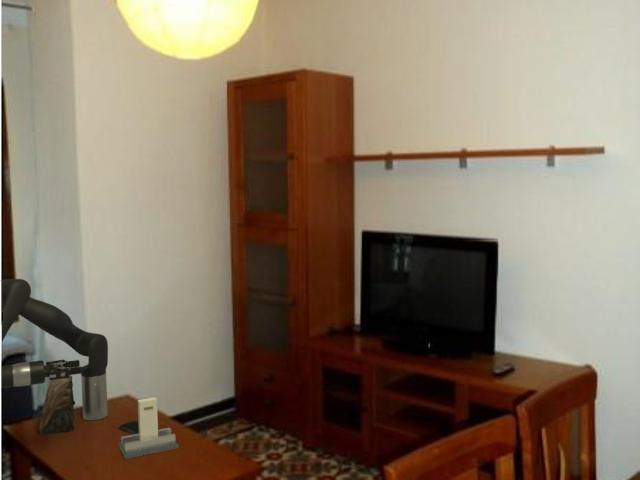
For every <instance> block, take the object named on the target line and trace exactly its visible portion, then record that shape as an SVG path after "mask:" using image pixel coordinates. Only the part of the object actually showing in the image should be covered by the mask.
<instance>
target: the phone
mask: <svg viewBox="0 0 640 480" xmlns="http://www.w3.org/2000/svg"><path fill="white" fill-rule="evenodd" d="M118 429H119V430H121V431H123V432H125V433H128V434H130V435H134V434H139V421H138V420H132V421H129V422H126V423H123V424H120V425H118Z"/></svg>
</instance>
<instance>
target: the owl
mask: <svg viewBox="0 0 640 480" xmlns="http://www.w3.org/2000/svg"><path fill="white" fill-rule="evenodd" d="M73 386H74V384H73V376H72V375H71V376H69V378H64V379H56V380H50V382H49V385H48V388H47V390H46V394H45V400H44V403H43V406H42V411H41V414H40V415H41V416H40V422H39V436H44V435H53V434H61V433H71V432H73V431H74V430H75V426H74V421H75V417H76V415H75V408H74V406H75V404H76V402H75V398H74V390H73Z"/></svg>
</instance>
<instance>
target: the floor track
mask: <svg viewBox="0 0 640 480" xmlns="http://www.w3.org/2000/svg"><path fill="white" fill-rule="evenodd" d="M179 446H180V445H179V443H177V441H176V434H175V433H172V429H171V427H165V428H161V429H158V437H154V438H149V439H144V440H139V434H134V435H132V434H130V435H125V436H121V437H120V442H119V443H118V447H119V450H120V451H121V453H122V455H123V458H124V459H125V460H130V459H133V458H134V457H135V458H139V457H143V455H144V456H148V454H149V455H152V454H153V453H154V454H157V453H162V452H167V451H172V450H177V449H179ZM138 456H139V457H138ZM135 458H134V459H135Z"/></svg>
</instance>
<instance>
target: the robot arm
mask: <svg viewBox="0 0 640 480" xmlns="http://www.w3.org/2000/svg"><path fill="white" fill-rule="evenodd" d="M1 280H2V306H1V307H2V308H1V309H2V312H3V321H2V342H4V340H5V337H6V336H7V334H8V332H9V330H10V329H11V328H12V326H13V324H14V323H15V321H16V320H17V318H18V316H20V317H22V318H24V319H25V320H27V321H28V322H29V323H32V324H33V325H35V326H36V327H37V328H39V329H41V330H42V331H44V332H45V333H47V334H48V335H51V336H53V337H54V338H55V339H58V340H60V341H61V342H64V343H65V344H67V345H68V346H69V347H70V348H71V349H73V350H74V351H75V352H76V354H78V355H81V356H83V357H87V359H88V362H87V364H86V365H83V366H80V363H81V362H80V360H79V359H75V360H69V361H68V360H66V359H60V360H52V361H46V363H45V362H44V360H43V359H41V360H33V361H26V362H18V363H15V364H9V365H2V388H1V389H8V388H14V387H27V386H33V385H39V384H44V383H45V382H46V378H49V381H51V380H56V379H64V378H69V376H72V375H73V376H74V375H80V378H81V379H80V380H81V397H82V398H81V401H82V418H83V420H87V421H97V420H101V419H104V418H106V417H107V416H108V415H109V412H108V411H109V410H108V390H107V389H108V388H107V387H108V385H107V367H108V363H109V345H108V343H109V342H108V339H107V337H106V336H105V335H103V334H100V333H96V332H95V333H94V332H88V331H85V330H83V329H81V328H79V327H78V326H77V325H75V324H74V323H73V320H72V319H71V317H70V316H69V315H68V314H67V313H66V312H64V311H63V310H62V309H60V308H58V307H57V306H55V305H53V304H51V303H49V302H45V301H42V300H39V299H37V298H33V297H31V294H32V288H31V285H30V283H29V282H28V281H27V280H25V279H22V278H10V279H9V278H8V279H1Z"/></svg>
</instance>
